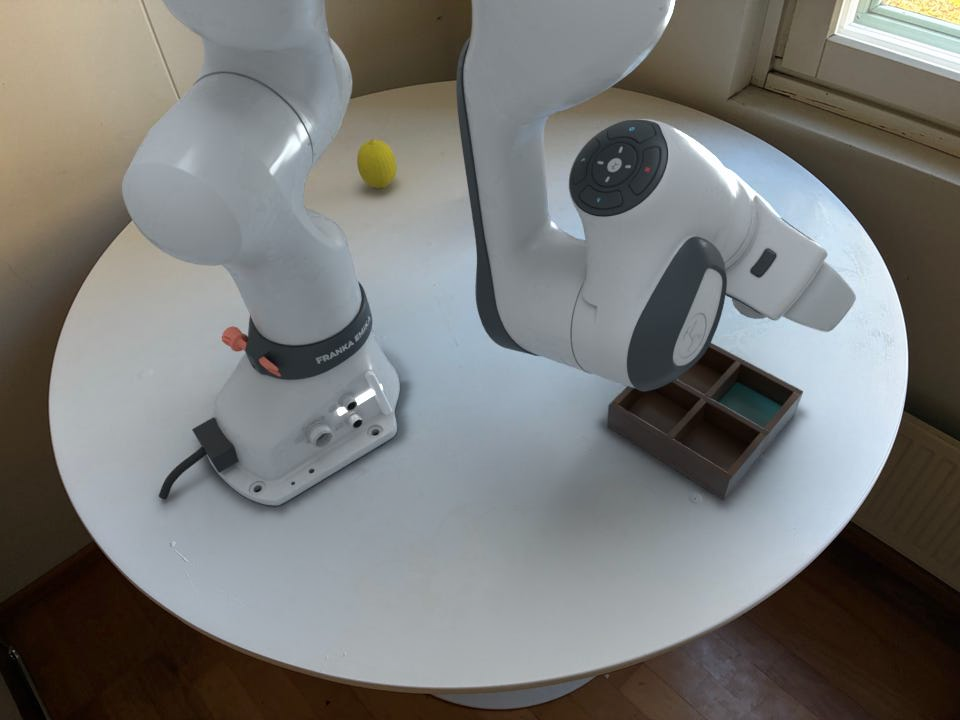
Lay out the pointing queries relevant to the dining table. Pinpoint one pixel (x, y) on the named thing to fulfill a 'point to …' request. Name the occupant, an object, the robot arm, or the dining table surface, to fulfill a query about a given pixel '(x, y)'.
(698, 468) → the grid
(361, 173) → the lemon
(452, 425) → the dining table surface
